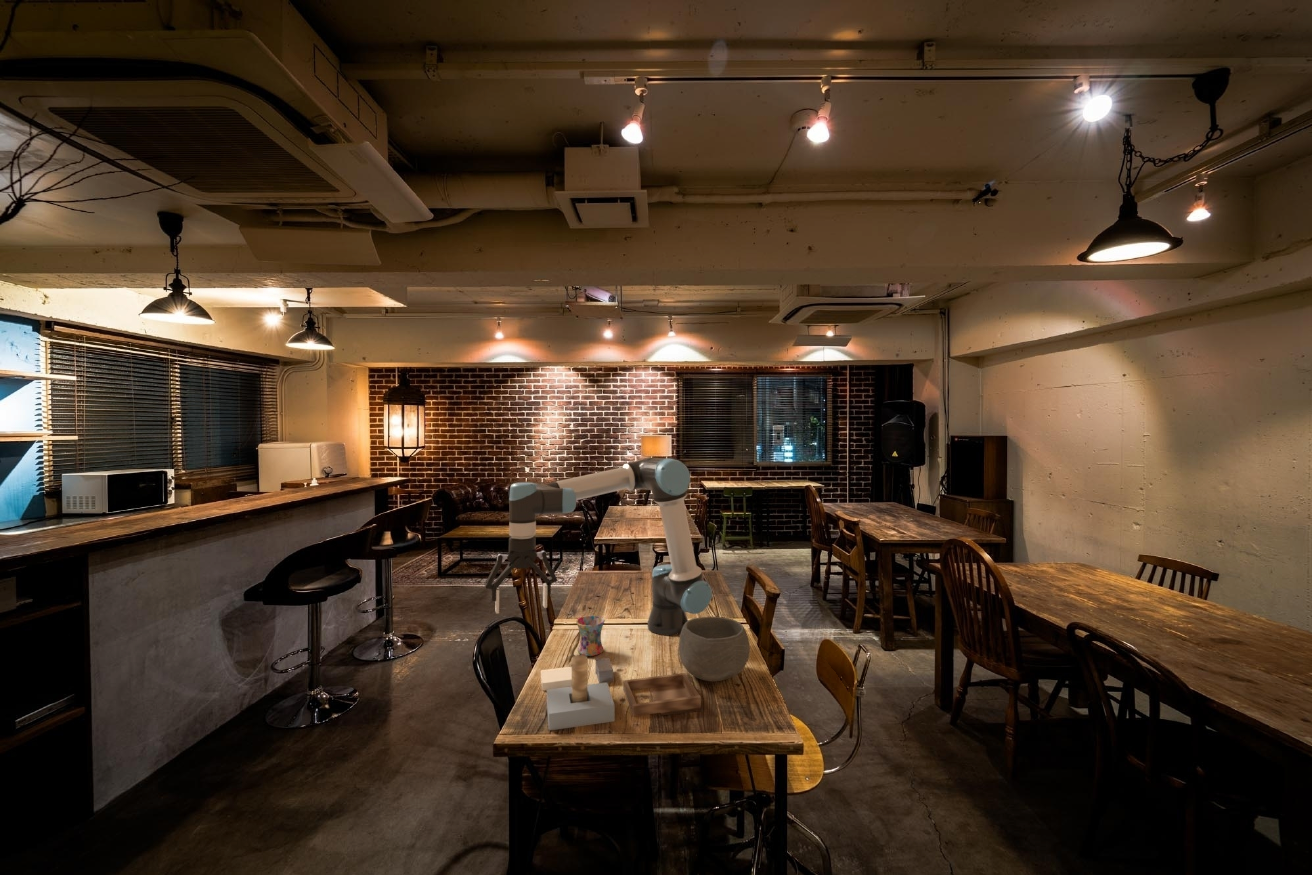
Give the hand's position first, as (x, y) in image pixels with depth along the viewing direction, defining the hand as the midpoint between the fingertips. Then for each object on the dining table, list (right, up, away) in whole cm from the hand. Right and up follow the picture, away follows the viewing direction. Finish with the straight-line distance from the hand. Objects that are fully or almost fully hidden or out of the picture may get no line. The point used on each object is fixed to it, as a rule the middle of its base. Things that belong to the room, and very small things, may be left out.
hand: (521, 609), depth 151 cm
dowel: (+20, -21, -18) cm, 34 cm away
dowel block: (+20, -22, -18) cm, 34 cm away
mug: (+18, -21, +22) cm, 35 cm away
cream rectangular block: (+11, -22, -2) cm, 25 cm away
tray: (+40, -21, -11) cm, 47 cm away
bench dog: (+24, -21, +2) cm, 32 cm away
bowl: (+56, -21, +4) cm, 60 cm away
